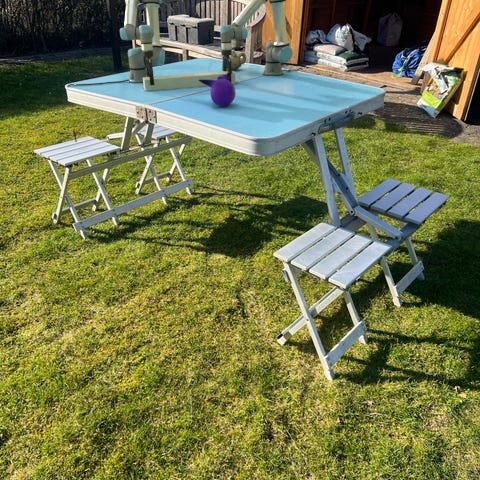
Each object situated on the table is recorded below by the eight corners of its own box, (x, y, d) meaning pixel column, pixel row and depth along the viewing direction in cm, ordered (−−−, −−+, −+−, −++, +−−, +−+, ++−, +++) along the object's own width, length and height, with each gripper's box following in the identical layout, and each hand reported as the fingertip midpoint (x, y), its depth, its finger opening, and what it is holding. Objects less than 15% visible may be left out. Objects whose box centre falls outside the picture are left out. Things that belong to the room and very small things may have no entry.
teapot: (226, 72, 363) (226, 52, 355) (220, 70, 372) (219, 50, 364) (249, 69, 372) (249, 50, 365) (242, 67, 381) (241, 48, 373)
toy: (221, 97, 287) (235, 112, 266) (195, 92, 280) (207, 107, 259) (227, 72, 279) (242, 85, 258) (201, 67, 272) (213, 80, 251)
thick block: (145, 91, 309) (144, 79, 305) (143, 88, 317) (142, 77, 314) (235, 83, 325) (235, 72, 321) (231, 81, 333) (231, 70, 330)
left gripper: (155, 52, 292) (159, 86, 303) (150, 48, 313) (154, 80, 323) (143, 52, 290) (147, 86, 301) (139, 48, 311) (143, 80, 322)
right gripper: (236, 51, 308) (236, 84, 319) (227, 47, 327) (228, 78, 338) (225, 51, 306) (226, 85, 318) (217, 47, 325) (218, 79, 336)
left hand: (151, 83), depth 312 cm, fingers open, 13 cm apart
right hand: (227, 82), depth 328 cm, fingers closed on thick block, 10 cm apart
